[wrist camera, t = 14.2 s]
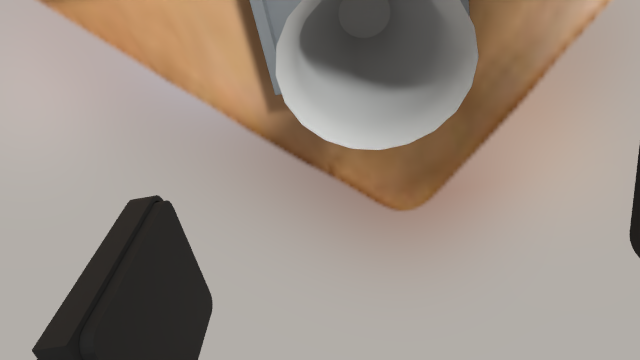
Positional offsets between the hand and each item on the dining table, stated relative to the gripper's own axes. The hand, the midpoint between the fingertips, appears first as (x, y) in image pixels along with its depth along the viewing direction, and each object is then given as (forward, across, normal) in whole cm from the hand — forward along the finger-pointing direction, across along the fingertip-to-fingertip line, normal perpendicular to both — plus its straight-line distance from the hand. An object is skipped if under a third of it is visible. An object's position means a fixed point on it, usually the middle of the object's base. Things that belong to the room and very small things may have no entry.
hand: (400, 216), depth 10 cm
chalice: (+28, 0, 0) cm, 28 cm away
